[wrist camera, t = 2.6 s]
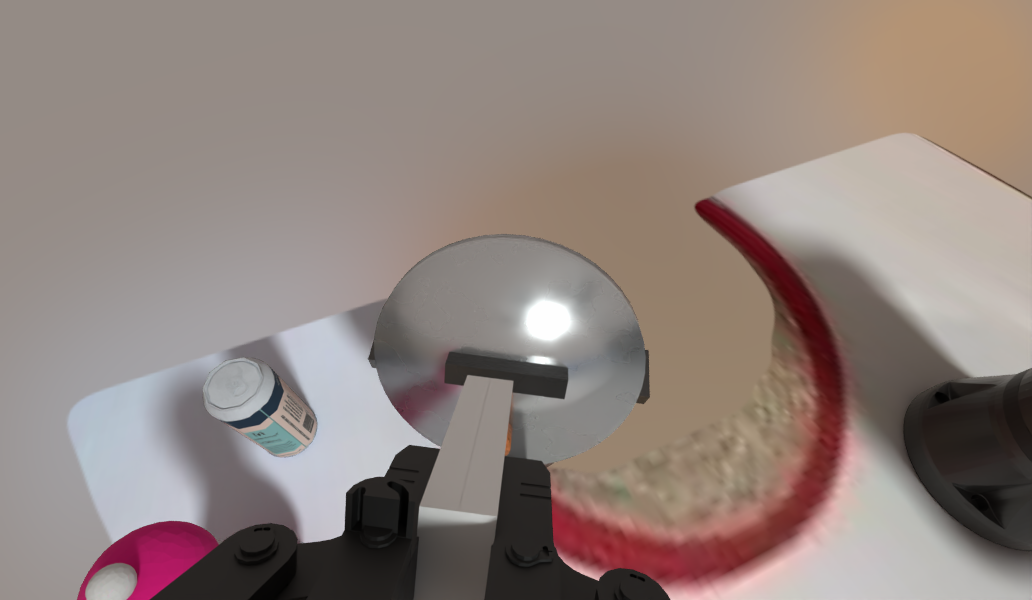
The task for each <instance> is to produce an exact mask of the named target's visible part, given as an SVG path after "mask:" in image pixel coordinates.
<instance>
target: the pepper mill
mask: <svg viewBox="0 0 1032 600" xmlns="http://www.w3.org/2000/svg"><path fill="white" fill-rule="evenodd" d="M221 543H222V541H220V540H217V539H215V538H214V537H213V536H212V535H211V534H210V533H209V532H208V531H207V530H205V529H203V528H201V527H200V526H197V525H194V524H192V523H188V522H181V521H166V522H158V523H154V524H151V525H147V526H144V527H142V528H139V529H137V530H134V531H132V532H130V533H129V534H127V535H126V536H124V537H123V538H121V539H119V540H118V541H116V542H115V543H114V544H112V545H111V546H110V547H109V548H108V549H107V550H106V551H104V552H103V553H102V555H101V556H100V557H99V558H98V559H97V561H96V562H95V563H94V565H93V566H92V568H91V569H90V571H89V572H88V574H87V576H86V577H85V579H84V581H83V583H82V585H81V588H80V591H79V595H78V598H77V600H150V599H151V598H152V597H153V596H155V595H156V594H157V593H158V592H160V591H161V590H162V589H164V588H165V587H166V586H167V585H169V584H170V583H171V582H172V581H174V580H175V579H176V578H178V577H179V576H180V575H181V574H183V573H184V572H185V571H186V570H188V569H189V568H190V567H191V566H193V565H194V564H195V563H197V562H198V561H199V560H200V559H202V558H203V557H204V556H205V555H207V554H208V553H209V552H211V551H212V550H213V549H214V548H216V547H217V546H218V545H219V544H221Z"/></svg>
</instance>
